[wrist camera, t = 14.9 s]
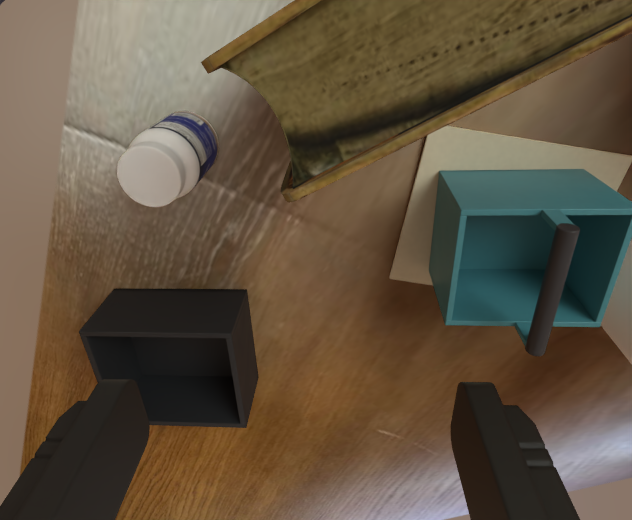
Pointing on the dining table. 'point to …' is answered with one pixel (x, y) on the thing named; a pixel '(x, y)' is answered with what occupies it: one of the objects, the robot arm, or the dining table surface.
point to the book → (401, 69)
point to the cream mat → (482, 154)
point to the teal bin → (527, 249)
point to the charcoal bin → (178, 352)
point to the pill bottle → (168, 159)
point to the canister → (621, 308)
